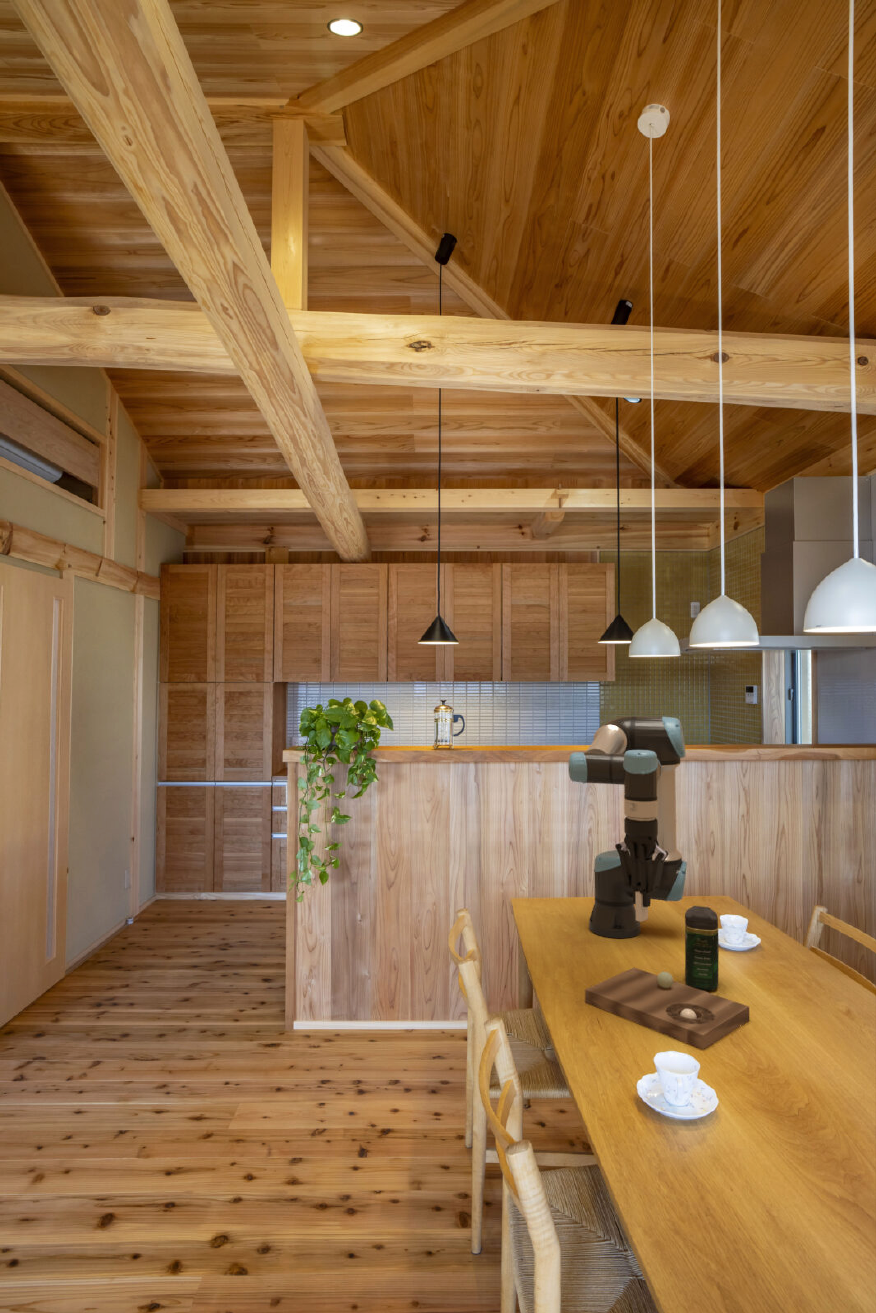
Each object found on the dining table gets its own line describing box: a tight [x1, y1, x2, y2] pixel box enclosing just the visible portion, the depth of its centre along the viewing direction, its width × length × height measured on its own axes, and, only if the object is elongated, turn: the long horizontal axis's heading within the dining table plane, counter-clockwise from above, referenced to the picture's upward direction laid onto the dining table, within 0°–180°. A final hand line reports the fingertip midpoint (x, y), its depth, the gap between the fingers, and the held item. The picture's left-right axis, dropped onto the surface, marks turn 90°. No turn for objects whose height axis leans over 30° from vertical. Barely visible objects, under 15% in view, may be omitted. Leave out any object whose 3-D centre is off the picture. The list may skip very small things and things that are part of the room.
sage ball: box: [657, 971, 674, 988], centre depth 177 cm, size 4×4×4 cm
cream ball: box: [680, 1009, 697, 1019], centre depth 165 cm, size 4×4×4 cm
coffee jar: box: [684, 905, 720, 992], centre depth 187 cm, size 10×8×19 cm
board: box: [584, 967, 750, 1051], centre depth 172 cm, size 30×20×3 cm, turn 41°
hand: (641, 919), depth 174 cm, fingers closed
